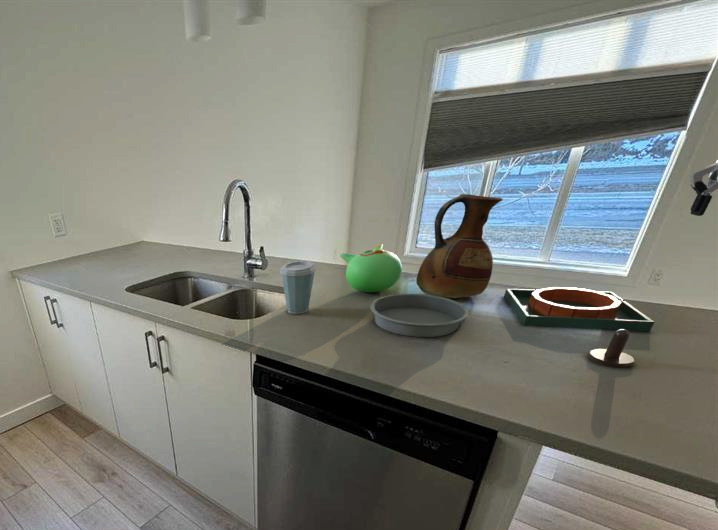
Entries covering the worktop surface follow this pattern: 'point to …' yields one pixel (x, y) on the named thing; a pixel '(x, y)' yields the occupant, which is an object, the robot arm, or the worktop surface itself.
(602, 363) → the post
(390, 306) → the cake pan
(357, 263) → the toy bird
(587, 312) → the ring
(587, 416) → the worktop surface
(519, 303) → the tray
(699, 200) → the robot arm
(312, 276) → the disposable coffee cup
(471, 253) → the ceramic pitcher
